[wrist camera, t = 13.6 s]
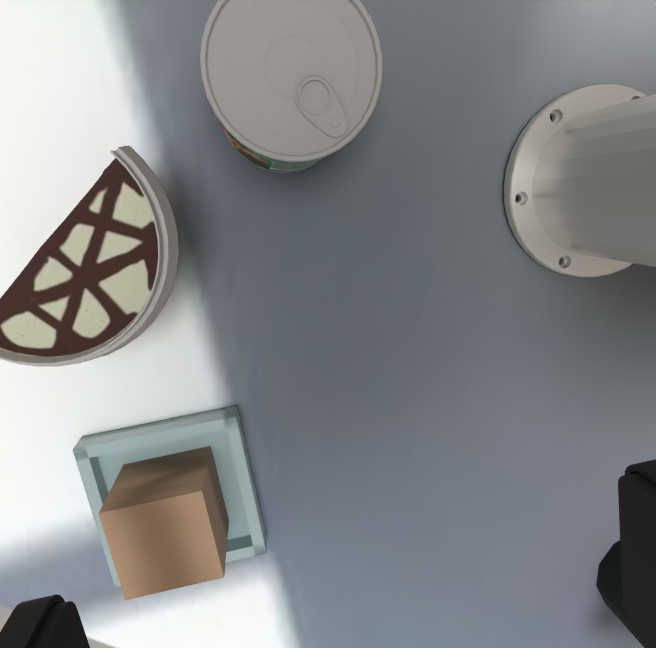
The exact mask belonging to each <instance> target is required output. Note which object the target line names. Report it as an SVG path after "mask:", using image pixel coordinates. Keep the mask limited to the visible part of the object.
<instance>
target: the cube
mask: <svg viewBox="0 0 656 648" xmlns="http://www.w3.org/2000/svg"><path fill="white" fill-rule="evenodd" d="M98 514H99V517H100V521H101V524H102V527H103V530H104V533H105V537H106V540H107V543H108V546H109V549H110V553H111V556H112V559H113V562H114V565H115V569H116V572H117V575H118V578H119V581H120V585H121V588H122V591H123V594H124V598H125V600H128V599H133V598H137V597H141V596H145V595H150V594H154V593H158V592H163V591H167V590H171V589H175V588H180V587H184V586H188V585H192V584H197V583H201V582H205V581H210V580H214V579H218V578H222V577H224V572H225V561H226V551H227V540H228V529H229V518H228V514H227V510H226V506H225V502H224V498H223V494H222V490H221V485H220V481H219V477H218V473H217V469H216V465H215V461H214V457H213V453H212V449H211V446H207V447H203V448H198V449H193V450H189V451H184V452H179V453H175V454H170V455H165V456H161V457H156V458H151V459H147V460H142V461H137V462H133V463H128V464H123V466H122V468H121V470H120V472H119V474H118V476H117V478H116V480H115V482H114V484H113V486H112V488H111V490H110V492H109V494H108V496H107V498H106V500H105V502H104V503H103V505H102V507H101V509H100V511H99V513H98Z"/></svg>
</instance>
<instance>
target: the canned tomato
mask: <svg viewBox="0 0 656 648" xmlns="http://www.w3.org/2000/svg"><path fill="white" fill-rule="evenodd" d="M200 66H201V77H202V82H203V85H204V89H205V93H206V96H207V99H208V101H209V103H210V105H211V107H212V109H213V111H214V113H215V115H216V117H217V118H218V120H219V122H220V124H221V126H222V129H223V131H224V133H225V135H226V137H227V139H228V141H229V142H230V144H231V145H232V147H233V148H234V149H235V151H236V152H237V153H238V154H240V155H241V156H242V157H243V158H244V159H245V160H246V161H248V162H250V163H251V164H253V165H254V166H256V167H259V168H261V169H264V170H267V171H271V172H277V173H292V172H296V171H300V170H304V169H306V168H308V167H310V166H312V165H314V164H316V163H317V162H318V161H320V160H322V159H323V158H325V157H327V156H328V155H330V154H332V153H334V152H336V151H338V150H340V149H341V148H342V147H344V146H345V145H346V144H348V143H349V142H350V141H351V140H353V139H354V138H355V136H356V135H357V134H358V133H359V132H360V131H361V130H362V129H363V127H364V126H365V125H366V123H367V121H368V119H369V118H370V116H371V114H372V113H373V111H374V108H375V105H376V102H377V100H378V97H379V94H380V89H381V83H382V77H383V56H382V50H381V45H380V40H379V36H378V33H377V31H376V28H375V26H374V23H373V21H372V18H371V17H370V15H369V13H368V12H367V10H366V9H365V7H364V5H363V4H362V2H361V1H360V0H218V1H217V3H216V4H215V6H214V8H213V10H212V12H211V14H210V16H209V18H208V20H207V23H206V26H205V30H204V33H203V36H202V42H201V52H200Z"/></svg>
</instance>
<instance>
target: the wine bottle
mask: <svg viewBox="0 0 656 648" xmlns="http://www.w3.org/2000/svg"><path fill="white" fill-rule="evenodd" d="M597 587H598V589H599V592H600V594H601V596H602V598H603V600H604V602H605V603H606V604H607V605H608V607H609V608H610V609H611V610H612V611H613V612H614V613H615V615H616V616H617V617H618V618H619V619H620V620H621V621H622V623H623V624H624V625H625V626H626V627H627V628H628V629H629V631H630V632H631V633H632V634H633V635H634V636H635V637H636V639H637V640H638V641H639V642H640V643H641V644H642V645H643V647H644V648H651V647H650V646H649V645H648V644H647V643H646V642H645V640H644V639H643V638H642V637H641V636H640V635H639V634H638V632H637V631H636V630H635V629H634V628H633V626H632V625H631V623H630V622H629V620H628V618H627V616H626V614H625V611H624V607H623V595H622V570H621V544H620V541H619V542H617V543H615V544H614V545H613V546H612V548H611V549H610V550H609V552H608V553H607V555H606V556H605V557H604V559H603V560H602V561H601V563H600V565H599V572H598V579H597Z"/></svg>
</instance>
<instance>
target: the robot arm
mask: <svg viewBox="0 0 656 648" xmlns="http://www.w3.org/2000/svg"><path fill="white" fill-rule="evenodd" d="M550 115H551V116H552V121H551V120H550ZM516 195H517V196H518V201H517V202H516V201H515V197H516ZM504 205H505V209H506V214H507V218H508V222H509V225H510V227H511V229H512V232H513V234H514V236H515V238H516V239H517V241H518V242H519V244H520V245H521V247H522V248H523V249H524V251H525V252H526V253H527V254H528V255H529V256H531V257H532V258H533V259H534V260H535V261H536V262H537V263H539V264H541V265H543V266H544V267H546V268H548V269H549V270H552V271H555V272H558V273H561V274H564V275H569V276H574V277H593V278H594V277H600V276H605V275H610V274H613V273H615V272H618V271H620V270H623V269H625V268H627V267H629V266H630V265H632V264H634V263H635V264H640V265H646V266H652V267H656V94H653V95H650V96H647V95H646V94H644V93H642V92H640V91H638V90H635V89H633V88H630V87H627V86H621V85H615V84H600V85H592V86H588V87H584V88H581V89H577V90H574V91H572V92H569V93H567V94H564V95H562V96H560V97H559V98H557V99H555V100H554V101H552V102H551V103H549V104H548V105H546V106H545V107H544V108H543V109H542V110H541V111H540V112H538V113H537V114H536V115H535V116H534V117H533V118H532V119H531V121H530V122H529V123H528V124H527V126H526V127H525V128H524V130H523V131H522V132H521V134H520V136H519V138H518V140H517V142H516V144H515V146H514V147H513V149H512V152H511V155H510V158H509V161H508V165H507V168H506V174H505V182H504ZM560 259H561V261H560V263H559V260H560ZM618 493H619V519H620V544H621V570H622V595H623V607H624V611H625V614H626V616H627V618H628V620H629V622H630V623H631V625H632V626H633V628H634V629H635V630H636V631H637V632H638V634H639V635H640V636H641V637H642V638H643V639H644V640H645V642H646V643H647V644H648V645H649V646H650V647H651V648H656V459H655V460H651V461H646V462H642V463H638V464H633V465H630V466H628V467H627V468H626V470H625V475H624V476H622V477H620V479H619V481H618ZM0 648H90V647H89V644H88V640H87V637H86V634H85V631H84V628H83V625H82V622H81V619H80V616H79V613H78V610H77V608H76V605H75V604H74V603H73V602H71V601H69V602H65V601H64V599H63V598H62V597H61V596H60V595H52V596H48V597H43V598H39V599H34V600H30V601H25V602H22V603H20V604H18V605H17V606H16V607H15V609H14V610H13V612H12V614H11V615H10V617H9V618H8V620H7V622H6V623H5V625H4V627H3V628H2V630H1V632H0Z"/></svg>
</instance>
